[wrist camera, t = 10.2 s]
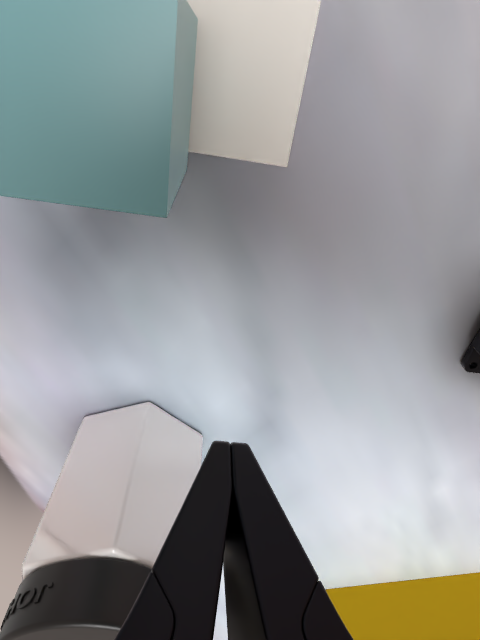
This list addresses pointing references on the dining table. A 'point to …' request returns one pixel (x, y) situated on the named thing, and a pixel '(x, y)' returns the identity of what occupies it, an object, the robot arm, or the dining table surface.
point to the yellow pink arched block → (412, 609)
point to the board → (249, 76)
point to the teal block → (96, 101)
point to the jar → (104, 525)
